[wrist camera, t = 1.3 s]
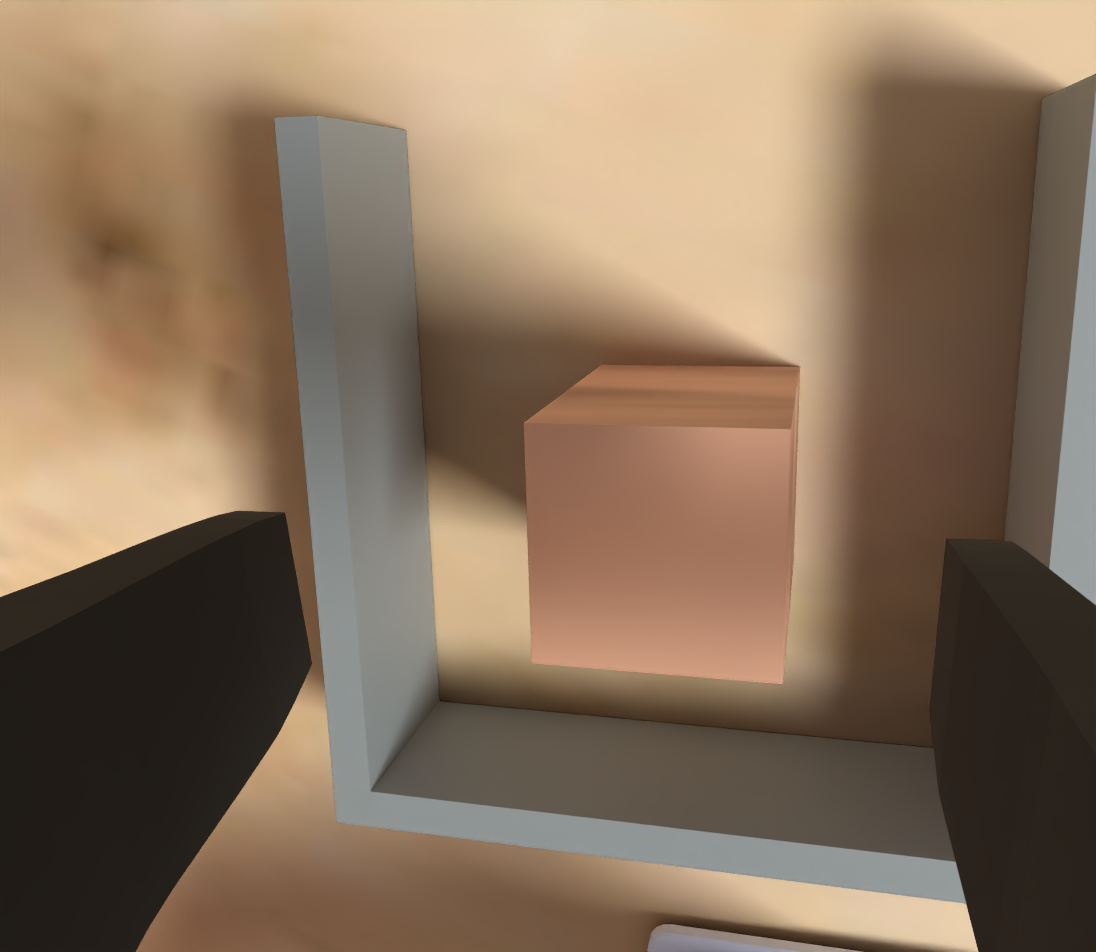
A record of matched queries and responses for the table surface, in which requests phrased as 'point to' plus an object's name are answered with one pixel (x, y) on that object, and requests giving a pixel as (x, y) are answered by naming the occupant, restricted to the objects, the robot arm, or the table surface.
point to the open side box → (592, 741)
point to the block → (664, 520)
